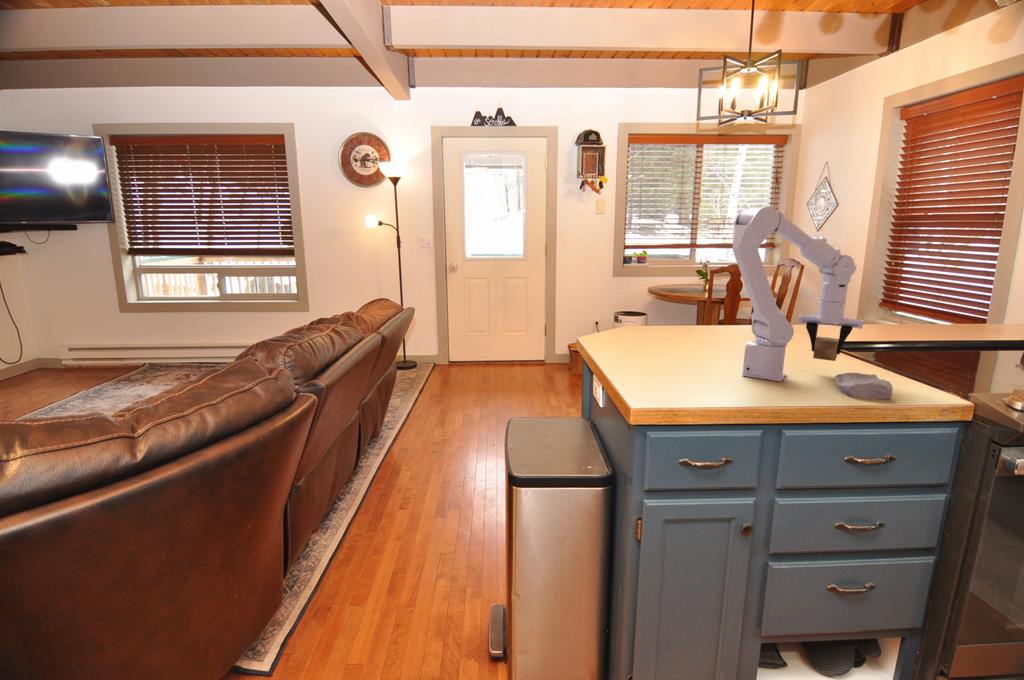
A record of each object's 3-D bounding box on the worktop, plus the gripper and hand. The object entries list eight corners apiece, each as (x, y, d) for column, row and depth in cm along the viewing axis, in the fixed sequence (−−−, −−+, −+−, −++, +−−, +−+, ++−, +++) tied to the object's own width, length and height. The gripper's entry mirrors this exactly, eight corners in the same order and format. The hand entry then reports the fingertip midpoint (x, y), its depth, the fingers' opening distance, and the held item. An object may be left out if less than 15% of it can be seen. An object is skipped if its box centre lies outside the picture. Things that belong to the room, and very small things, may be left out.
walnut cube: (813, 358, 139) (815, 339, 138) (815, 354, 143) (817, 336, 142) (835, 361, 136) (837, 342, 135) (836, 357, 140) (839, 338, 139)
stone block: (848, 406, 122) (897, 400, 120) (846, 386, 121) (895, 380, 119) (829, 392, 133) (873, 386, 131) (826, 374, 133) (871, 368, 130)
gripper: (866, 301, 135) (859, 353, 138) (802, 297, 143) (797, 345, 146) (865, 305, 130) (857, 358, 132) (799, 300, 138) (793, 350, 141)
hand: (825, 352), depth 139 cm, fingers closed on walnut cube, 5 cm apart
